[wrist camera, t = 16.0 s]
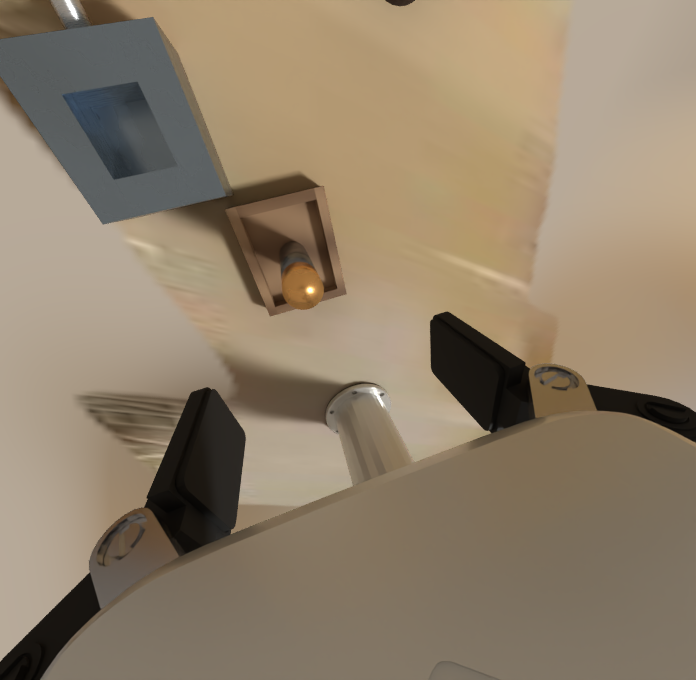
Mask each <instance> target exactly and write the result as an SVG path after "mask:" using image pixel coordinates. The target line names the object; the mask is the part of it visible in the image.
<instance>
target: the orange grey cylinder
mask: <svg viewBox="0 0 696 680" xmlns="http://www.w3.org/2000/svg"><path fill="white" fill-rule="evenodd" d="M279 256H280V269H281V282H282V293H283V297H284V299H285V300H286V302H287V303H288V304H289V305H290V306H292V307H294V308H296V309H301V310H305V309H310V308H312V307H314V306H316V305H317V304H318V303H319V302H320V301H321V299H322V297H323V293H324V287H323V283H322V281H321V279H320V277H319V275H318V273H317V271H316V269H315V267H314V265H313V263H312V261H311V259H310V257H309V255H308V253H307V251H306V249H305V248H304V246H303V245H302V244H300V243H298V242H295V241H290V242H287V243H285V244H284V245H283V246H282V247H281V249H280V253H279Z"/></svg>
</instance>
